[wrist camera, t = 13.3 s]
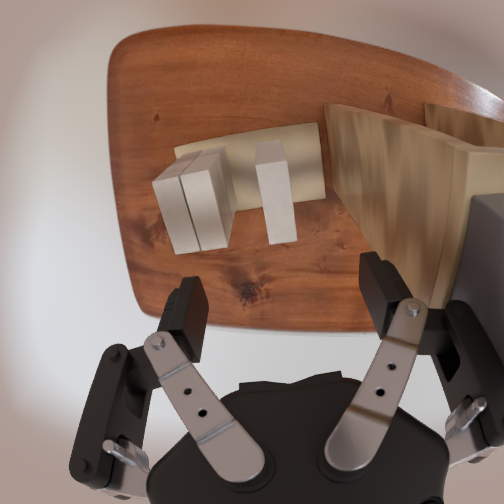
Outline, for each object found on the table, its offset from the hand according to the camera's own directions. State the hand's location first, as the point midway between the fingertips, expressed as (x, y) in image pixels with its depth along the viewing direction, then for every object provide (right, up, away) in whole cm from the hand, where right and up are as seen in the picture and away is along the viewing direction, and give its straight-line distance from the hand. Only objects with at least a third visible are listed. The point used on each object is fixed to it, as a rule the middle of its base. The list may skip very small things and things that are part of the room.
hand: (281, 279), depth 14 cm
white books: (-1, +10, +18) cm, 21 cm away
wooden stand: (+14, +14, +15) cm, 25 cm away
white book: (+1, +10, +17) cm, 20 cm away
